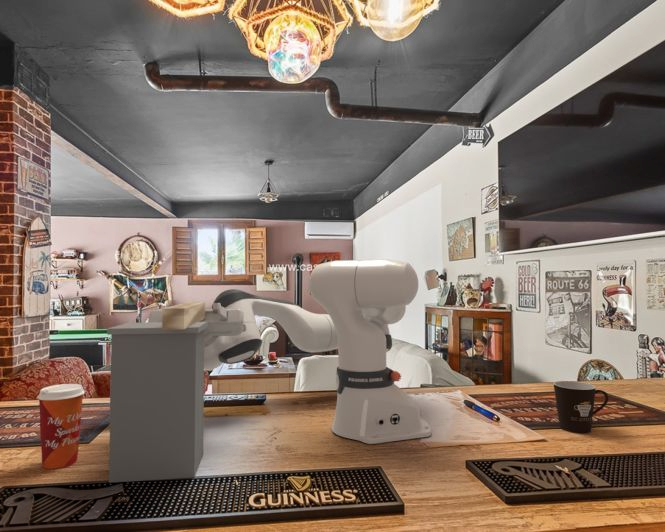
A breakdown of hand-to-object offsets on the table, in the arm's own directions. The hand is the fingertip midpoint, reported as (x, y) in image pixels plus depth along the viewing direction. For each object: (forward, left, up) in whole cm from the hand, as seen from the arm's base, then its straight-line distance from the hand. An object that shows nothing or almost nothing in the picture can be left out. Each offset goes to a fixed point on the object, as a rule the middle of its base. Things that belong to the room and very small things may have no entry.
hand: (193, 306), depth 92 cm
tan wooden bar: (0, +7, -3) cm, 7 cm away
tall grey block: (+4, +10, -29) cm, 31 cm away
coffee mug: (-87, +2, -29) cm, 92 cm away
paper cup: (+23, +5, -29) cm, 37 cm away
